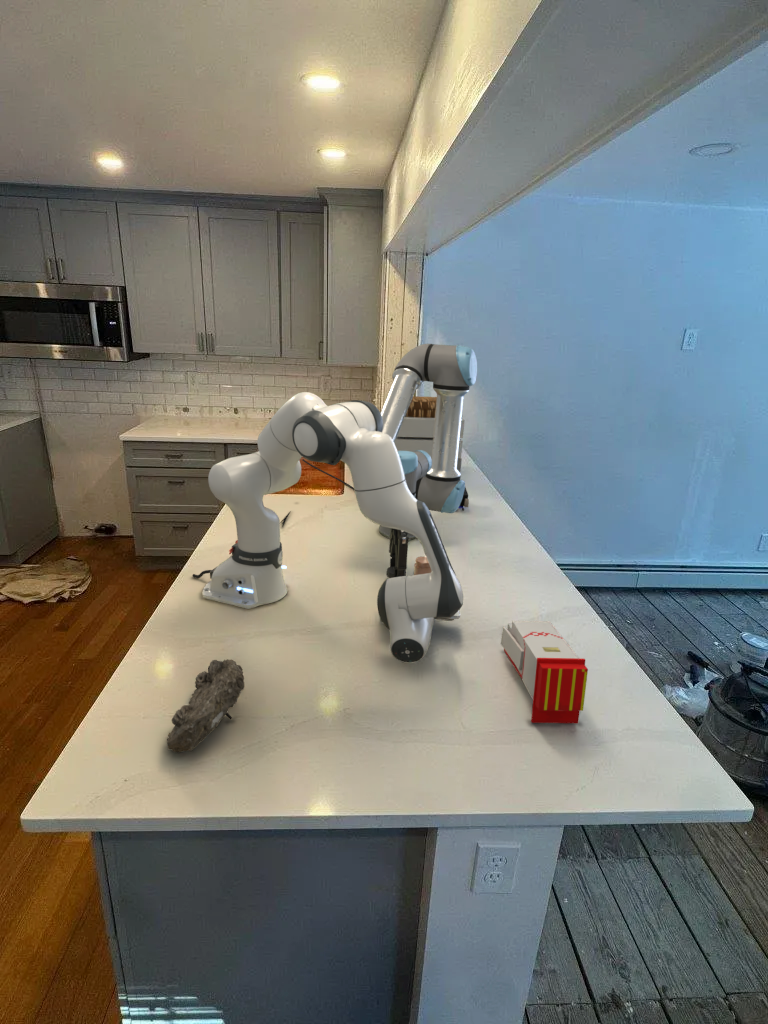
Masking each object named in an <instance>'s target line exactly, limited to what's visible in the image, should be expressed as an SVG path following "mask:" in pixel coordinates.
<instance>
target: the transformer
mask: <svg viewBox="0 0 768 1024" xmlns="http://www.w3.org/2000/svg"><path fill="white" fill-rule="evenodd" d="M436 400H437V396H415V395H413V398H412V400H411V403H410V405H409V408H408V410H407V413H406V415H405V418H404V420H403V423H402V426H401V428H400V431H399V433H398V436H397V438H396V441H395V443H394V444H395V446H396V448H397V450H400V451H410V452H413V451H416V450H422V451H425V452H427V453H428V454H429V455H430V457H431V459H432V447H433V435H434V424H435V412H436ZM464 429H465V419H464V418H462V419H461V429H460V439H459V449H458V459H457V470H458V471H459V472H460V474H461V472H462V461H463V460H462V453H463V442H464V441H463V440H462V439H463V438H464V431H465V430H464Z"/></svg>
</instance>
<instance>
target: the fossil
mask: <svg viewBox="0 0 768 1024" xmlns="http://www.w3.org/2000/svg"><path fill="white" fill-rule="evenodd" d="M243 670H244V669H243V667H242V665H240V664H237V662H236V661H235V660H234V659H232V658H231V659H227V658H226V659H224V660H223V661H222V660H217V659H212V660H211V661H210V663H209V665H208V666H207V671H201V672H199V673H198V674H197V675H196V676H195V680H194V684H195V685H194V687H195V689H194V690H193V693H192V694H191V697H190V698H189V700H188V704H184V705H182V706H181V707H180V709H177V710H176V711H175V713H174V715H173V716H172V718H171V723H172V724H173V727H172V730H171V731H170V732H168V734H167V738H166V741H167V742H166V745H167V749H168V750H169V751H173V752H174V753H176V754H178V753H182V752H188V751H189V752H192V751H193V750H195V748H196V747H197V746H199V744H200V743H201V742H203V741H204V740H205V739H206V738H207V737H208V736H209V735H210V734H211V733H212V732H214V730H215V729H217V727H218V726H219V724H220V722H221V721H222V720H223V719H224V718H225V716H226V717H227V719H229V720H233V717H232V715H230V714H229V710H230V709H231V708H234V706H235V704H236V703H237V702H238V699H239V697H240V695H241V693H242V691H243V690H245V689H244V688H245V675H244V671H243Z"/></svg>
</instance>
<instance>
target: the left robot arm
mask: <svg viewBox="0 0 768 1024" xmlns="http://www.w3.org/2000/svg"><path fill="white" fill-rule="evenodd" d="M380 412H381V410H379V408H378V407H377V406H376V405H375V404H373V403H371V402H370V401H366V400H359V399H358V400H357V399H355V400H354V399H353V400H349V401H348V400H347V401H342V402H337V403H333V404H331V405H327V404H326V403H325V402H324V400H323V399H322V398H321V397H319V396H318V395H316V394H315V393H313V392H308V391H302V392H298V393H296V394H294V395H293V396H292V397H291V398H289V399H288V400H287V401H286V402H285V403H283V404H282V405H281V406H280V407H279V408H278V410H276V412H275V413H274V414H273V415H272V417H271V418H270V419H269V421H268V422H267V424H265V426H264V428H263V429H262V430H261V432H260V433H259V434H258V437H257V450H258V451H255V452H253V453H249V454H243V455H238V456H232V457H228V458H226V459H223V460H222V461H219V462H218V463H215V464H213V465H212V466H211V468H210V470H209V473H208V477H207V478H208V479H207V483H208V487H209V490H210V492H211V494H212V495H213V496H214V497H215V498H216V499H217V500H218V501H220V502H221V503H223V504H225V505H226V506H227V507H228V508H229V509H230V511H231V512H232V515H233V517H234V519H235V527H236V537H237V539H236V540H235V543H234V544H233V545H231V548H229V550H228V552H229V553H228V555H229V556H230V557H228V558H227V559H225V560H223V561H222V562H221V563H219V565H217V566H215V567H214V568H213V569H205V570H202V571H201V572H200V573H199V574H196V573H193V574H192V575H191V576H192V578H194V579H200V578H202V577H203V576H205V575H207V574H209V579H210V580H209V581H208V582H207V583H206V584H205V585H204V587H203V589H202V593H201V594H202V598H203V599H207V600H210V601H213V602H214V601H215V602H218V603H222V604H227V605H231V606H235V607H239V608H242V609H246V610H247V609H249V610H250V609H254V608H257V607H259V606H262V605H263V606H264V605H268V604H272V603H275V602H278V601H280V600H282V599H283V598H285V596H286V595H287V593H288V587H287V584H286V582H285V578H284V577H285V576H284V573H283V569H287V566H286V565H282V564H283V558H284V557H283V556H284V553H283V543H282V542H281V523H280V522H281V521H280V520H281V519H280V517H279V515H278V514H277V512H275V511H274V510H273V509H271V508H269V507H266V506H265V504H264V499H263V498H264V496H266V495H270V494H271V495H272V494H275V493H278V492H282V491H285V490H286V489H289V488H291V487H292V486H294V485H296V484H297V483H298V482H299V481H300V479H301V476H302V464H301V459H304V460H306V461H310V462H315V463H323V464H327V465H330V466H336V465H338V464H339V463H340V461H341V462H343V463H344V464H345V465H346V466H347V467H348V469H349V472H350V475H351V480H352V485H353V486H352V487H353V488H354V490H353V491H354V495H355V499H356V503H357V506H358V508H359V511H360V513H361V514H362V515H363V516H364V517H365V518H366V519H367V520H368V521H370V522H371V523H373V524H376V525H377V526H379V527H380V526H383V527H388V528H393V529H398V530H402V531H405V532H408V533H410V534H412V535H414V536H415V537H416V538H415V539H417V540H418V541H419V543H420V544H421V547H422V549H423V552H424V554H425V557H427V560H428V562H429V565H430V567H431V570H432V572H431V573H427V574H419V575H414V574H412V575H406V576H400V577H394V578H389V577H387V578H386V579H385V580H384V581H383V583H382V584H381V585H380V587H379V589H378V593H377V599H376V605H377V607H376V608H377V611H378V616H379V621H380V623H382V624H383V625H384V627H385V628H386V629H387V630H389V649H390V652H391V655H392V657H394V658H395V659H396V660H398V661H399V662H402V663H416V662H419V661H421V660H422V659H423V658H424V657H425V655H426V654H427V652H428V649H429V648H430V647H429V646H430V644H431V640H432V635H433V634H432V633H433V631H432V630H433V627H434V622H435V620H438V621H446V622H452V621H455V620H458V619H460V617H461V611H460V610H461V608H462V607H463V605H464V590H463V587H462V584H461V582H460V580H459V578H458V576H457V574H456V572H455V570H454V567H453V566H452V564H451V561H450V559H449V556H448V553H447V550H446V547H445V545H444V542H443V540H442V537H441V534H440V532H439V530H438V527H437V525H436V523H435V520H434V518H433V515H432V513H431V510H429V509H428V507H427V506H426V504H425V503H424V502H421V501H418V500H417V499H416V498H415V497H414V496H413V495H412V493H411V492H410V490H409V488H408V486H407V483H406V479H405V474H404V470H403V466H402V463H401V460H400V457H399V454H398V451H397V448H396V446H395V444H394V441H393V439H392V438H391V437H390V436H389V435H388V434H386V433H383V432H382V430H383V419H382V416H381V413H380Z"/></svg>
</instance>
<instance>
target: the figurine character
mask: <svg viewBox="0 0 768 1024" xmlns="http://www.w3.org/2000/svg"><path fill="white" fill-rule="evenodd" d="M469 505H470V500H469V492H468V490H467V488H466V486H465V490H464V494H463V498H462V501H461V503H460V506H459V507H458V509H461V511H462V512H464V511H465V508H469ZM458 509H457V510H456V511H455V512H457V511H458Z"/></svg>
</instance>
